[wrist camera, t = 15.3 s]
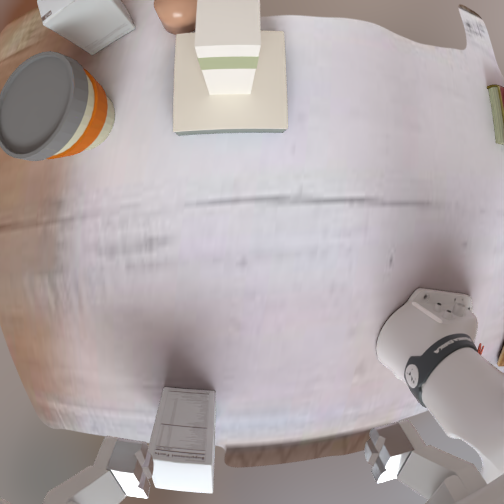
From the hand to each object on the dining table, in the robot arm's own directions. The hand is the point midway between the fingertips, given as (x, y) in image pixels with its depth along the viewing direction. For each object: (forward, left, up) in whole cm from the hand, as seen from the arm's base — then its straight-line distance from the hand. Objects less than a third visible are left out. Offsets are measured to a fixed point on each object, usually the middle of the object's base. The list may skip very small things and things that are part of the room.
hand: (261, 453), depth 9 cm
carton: (+1, -22, -30) cm, 37 cm away
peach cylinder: (+8, -34, -34) cm, 49 cm away
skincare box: (+20, -34, -34) cm, 52 cm away
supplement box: (+10, +30, -34) cm, 47 cm away
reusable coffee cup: (+22, -19, -34) cm, 45 cm away
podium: (+1, -22, -34) cm, 41 cm away
